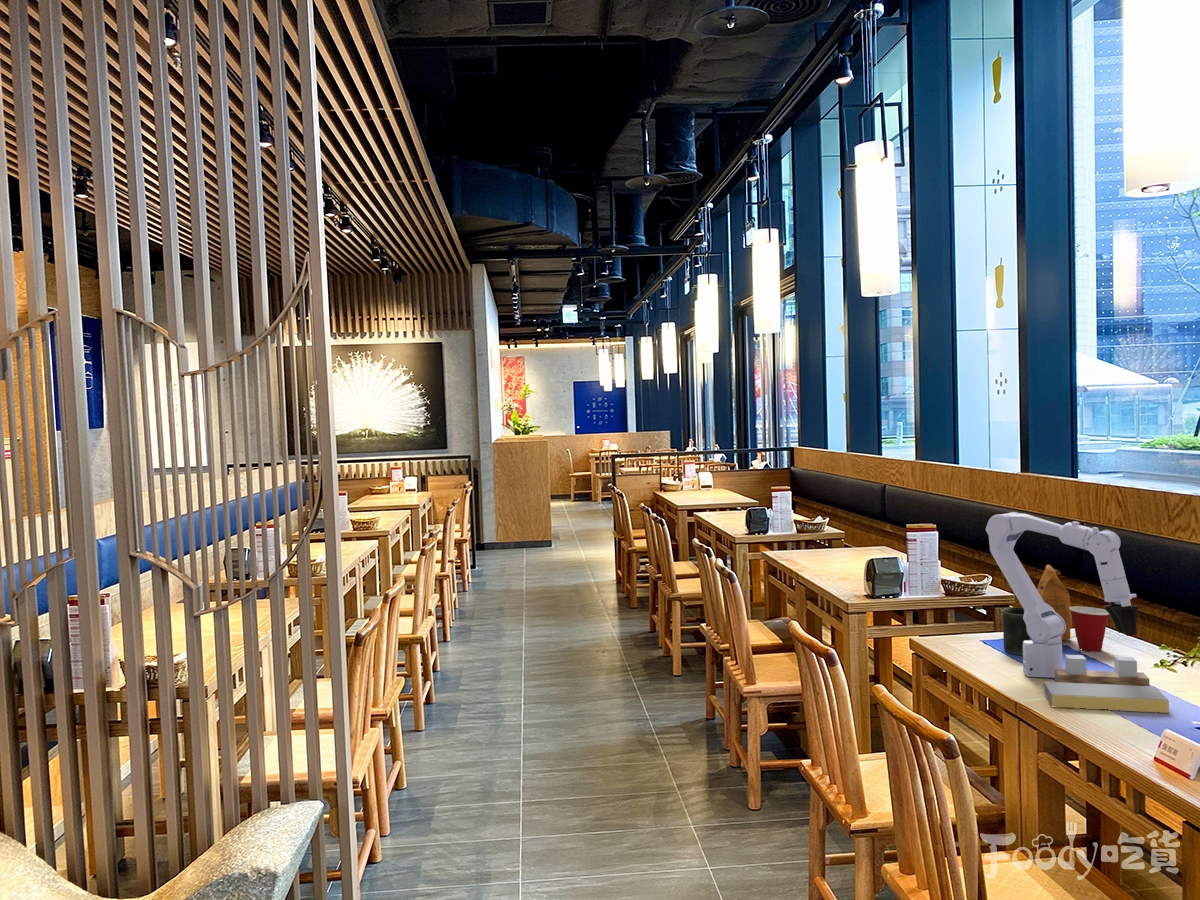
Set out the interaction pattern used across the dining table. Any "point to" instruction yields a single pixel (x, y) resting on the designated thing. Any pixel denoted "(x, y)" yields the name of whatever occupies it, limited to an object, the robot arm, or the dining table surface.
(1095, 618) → the plastic cup
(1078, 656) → the block
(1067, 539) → the robot arm
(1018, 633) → the mug
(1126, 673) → the block
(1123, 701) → the dock
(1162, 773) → the dining table surface
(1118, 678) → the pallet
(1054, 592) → the coffee package
